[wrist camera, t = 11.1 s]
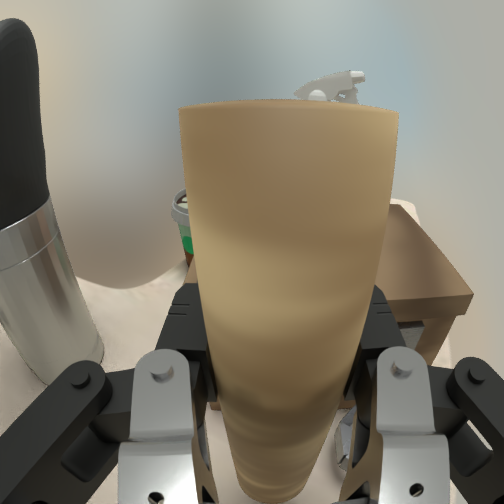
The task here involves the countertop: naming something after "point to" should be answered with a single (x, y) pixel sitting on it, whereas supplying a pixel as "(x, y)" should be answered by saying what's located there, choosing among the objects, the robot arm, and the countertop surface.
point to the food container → (183, 222)
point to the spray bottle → (333, 87)
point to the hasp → (344, 430)
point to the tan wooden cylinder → (285, 266)
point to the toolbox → (411, 285)
